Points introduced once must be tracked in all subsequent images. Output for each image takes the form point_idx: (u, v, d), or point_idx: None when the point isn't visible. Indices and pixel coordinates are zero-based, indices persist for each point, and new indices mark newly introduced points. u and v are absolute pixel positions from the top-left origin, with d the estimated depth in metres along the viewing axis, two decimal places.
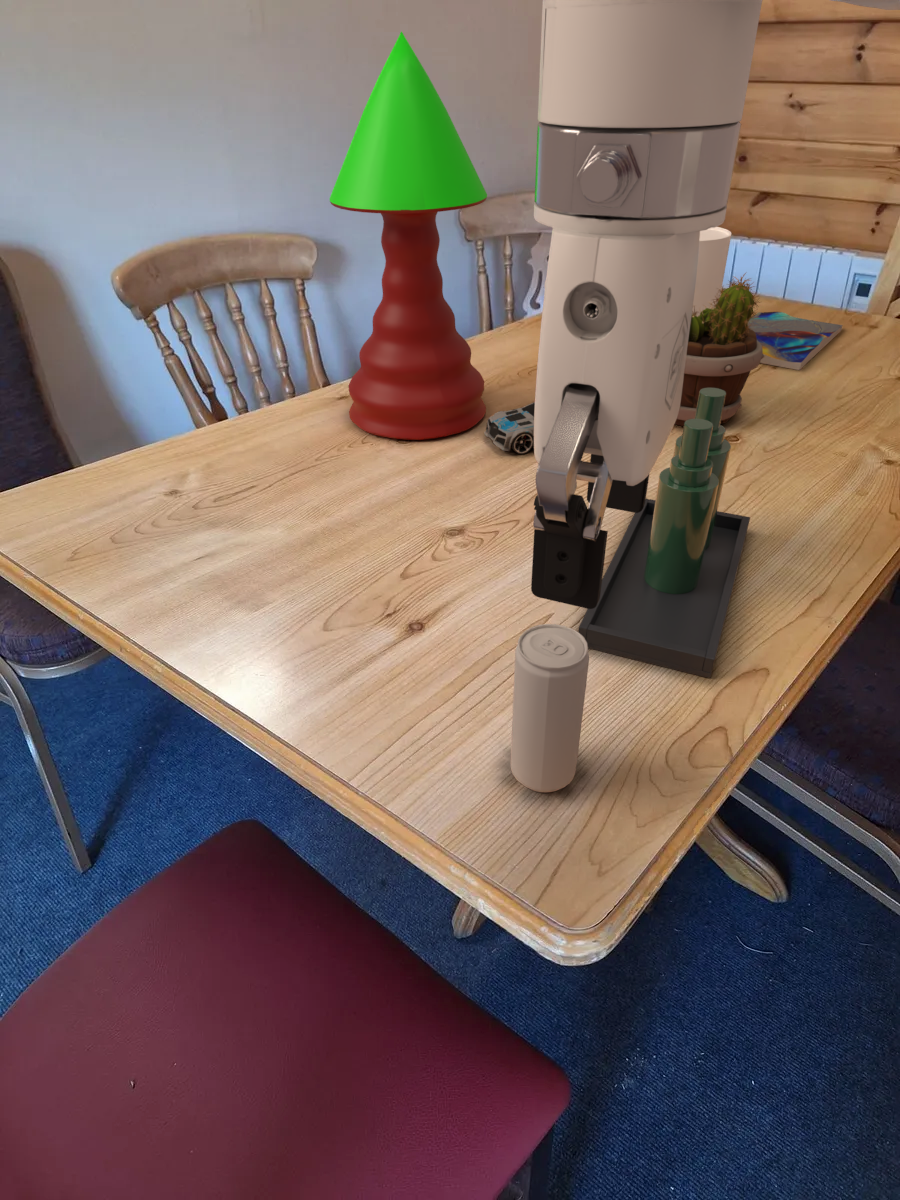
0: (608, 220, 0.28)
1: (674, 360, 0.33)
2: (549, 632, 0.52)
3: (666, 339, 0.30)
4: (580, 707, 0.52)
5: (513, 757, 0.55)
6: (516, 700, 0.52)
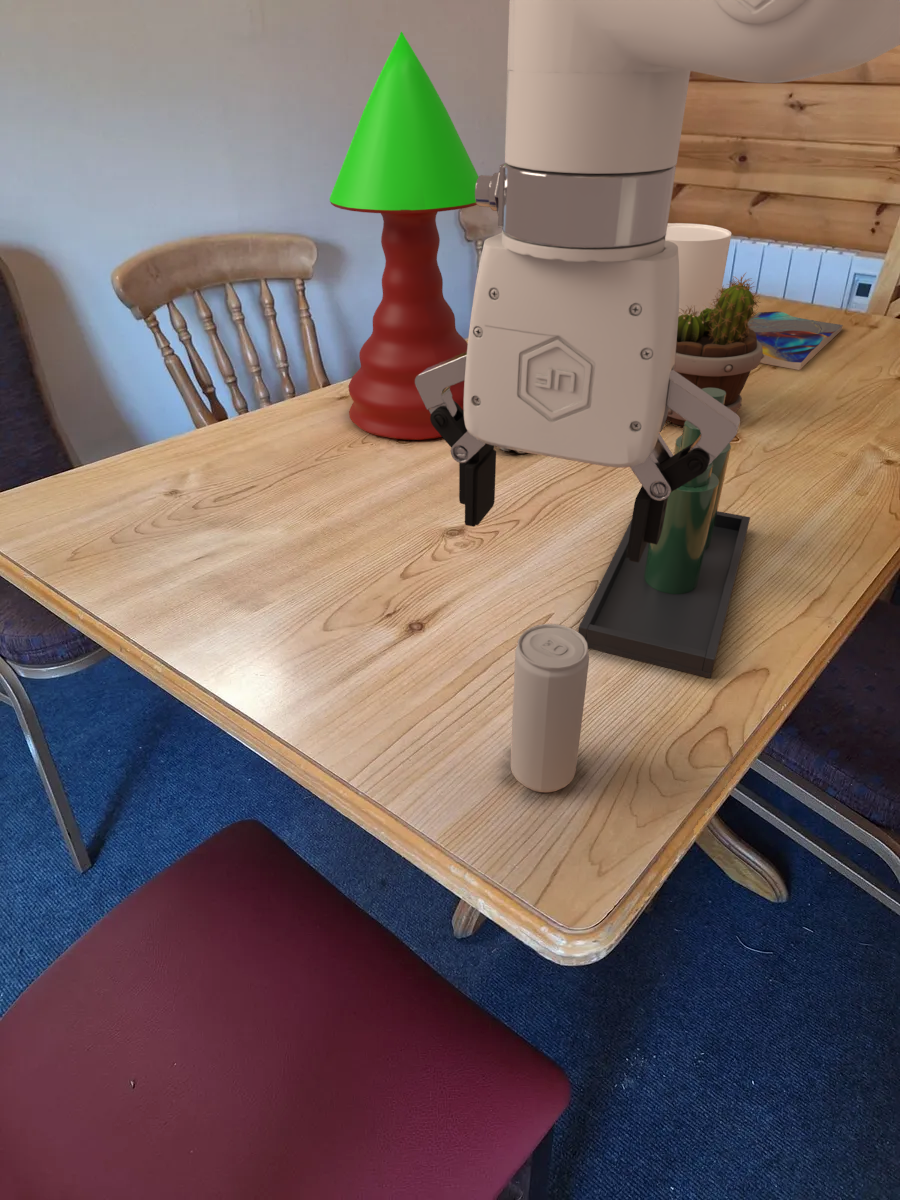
0: None
1: (547, 373, 0.37)
2: (549, 632, 0.52)
3: (497, 332, 0.37)
4: (580, 707, 0.52)
5: (513, 757, 0.55)
6: (516, 700, 0.52)
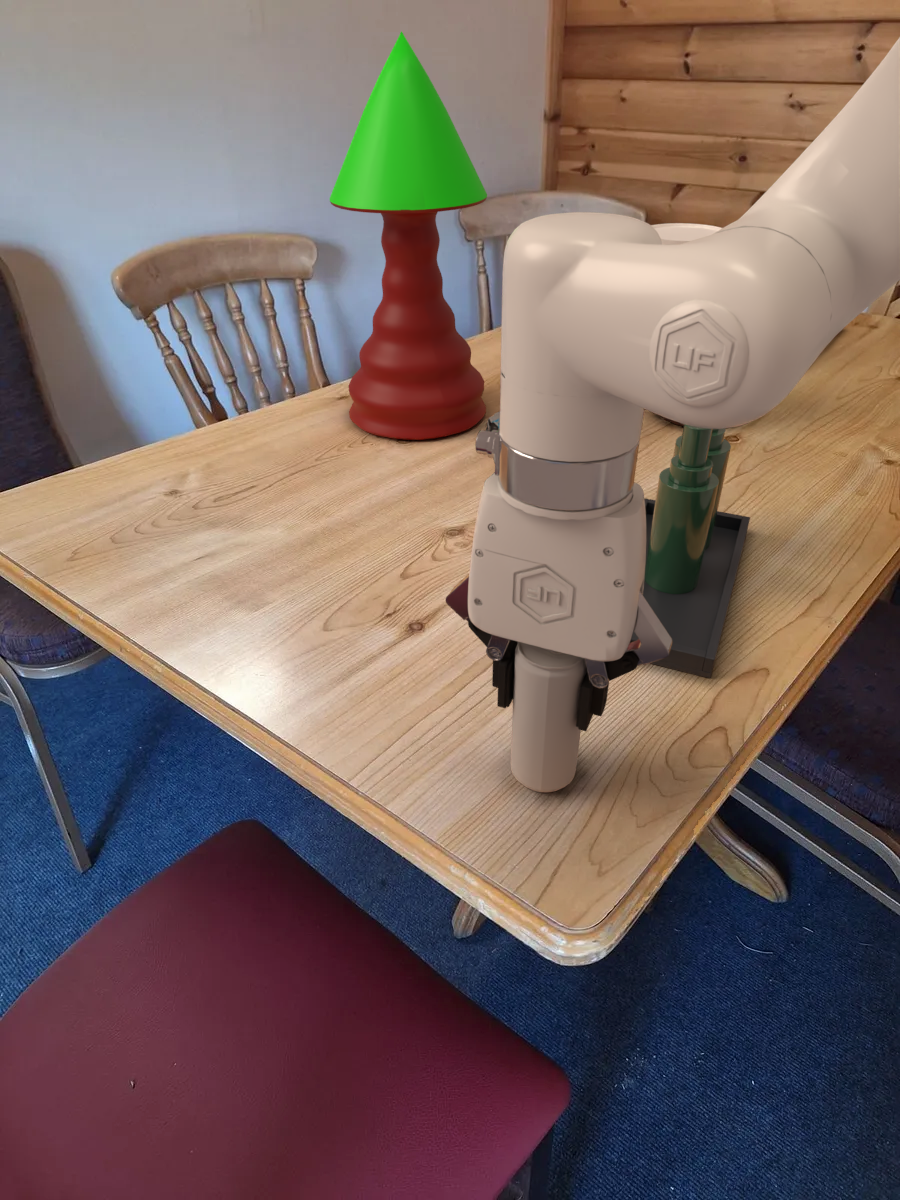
0: None
1: (537, 589, 0.45)
2: None
3: (495, 555, 0.45)
4: None
5: (513, 757, 0.55)
6: (516, 700, 0.52)
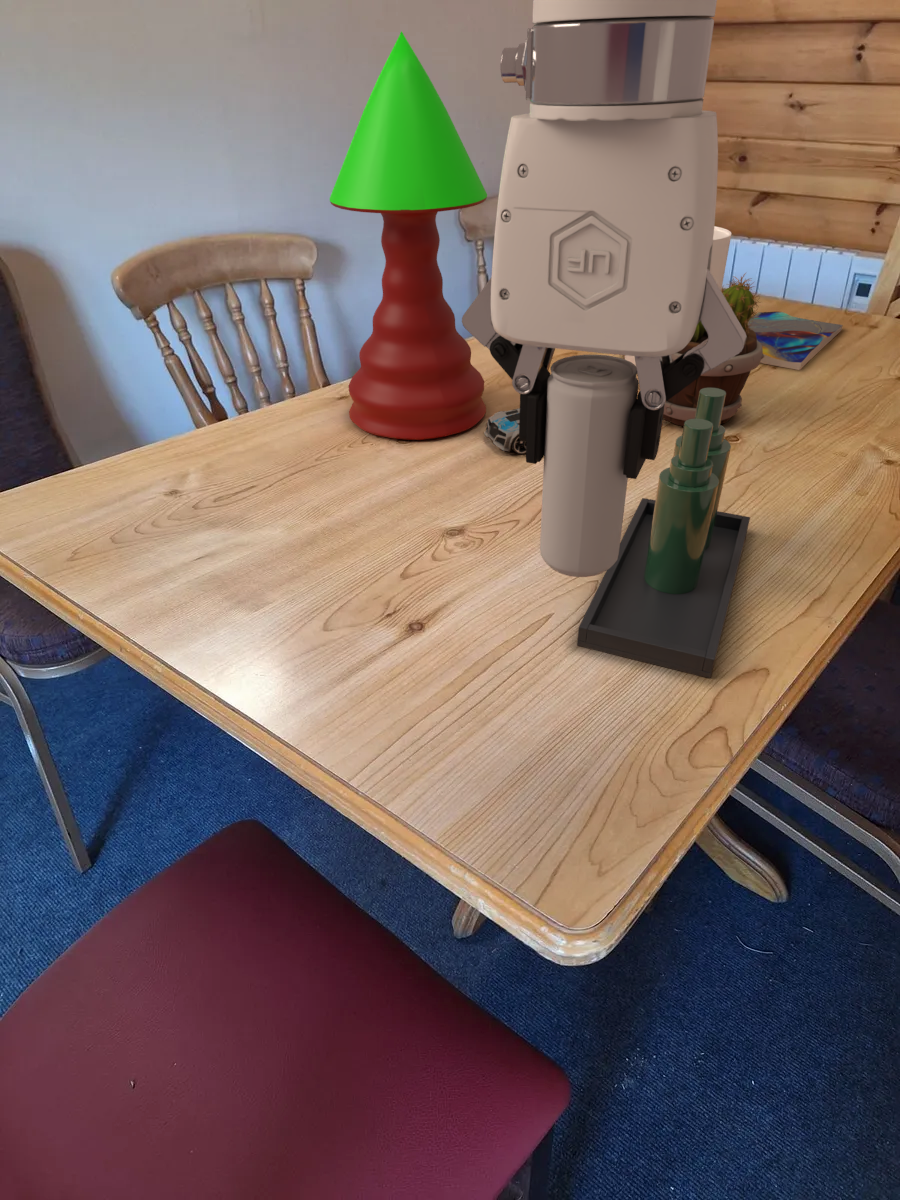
0: None
1: (580, 255, 0.36)
2: (588, 361, 0.42)
3: (526, 213, 0.36)
4: None
5: (544, 534, 0.46)
6: (549, 447, 0.43)
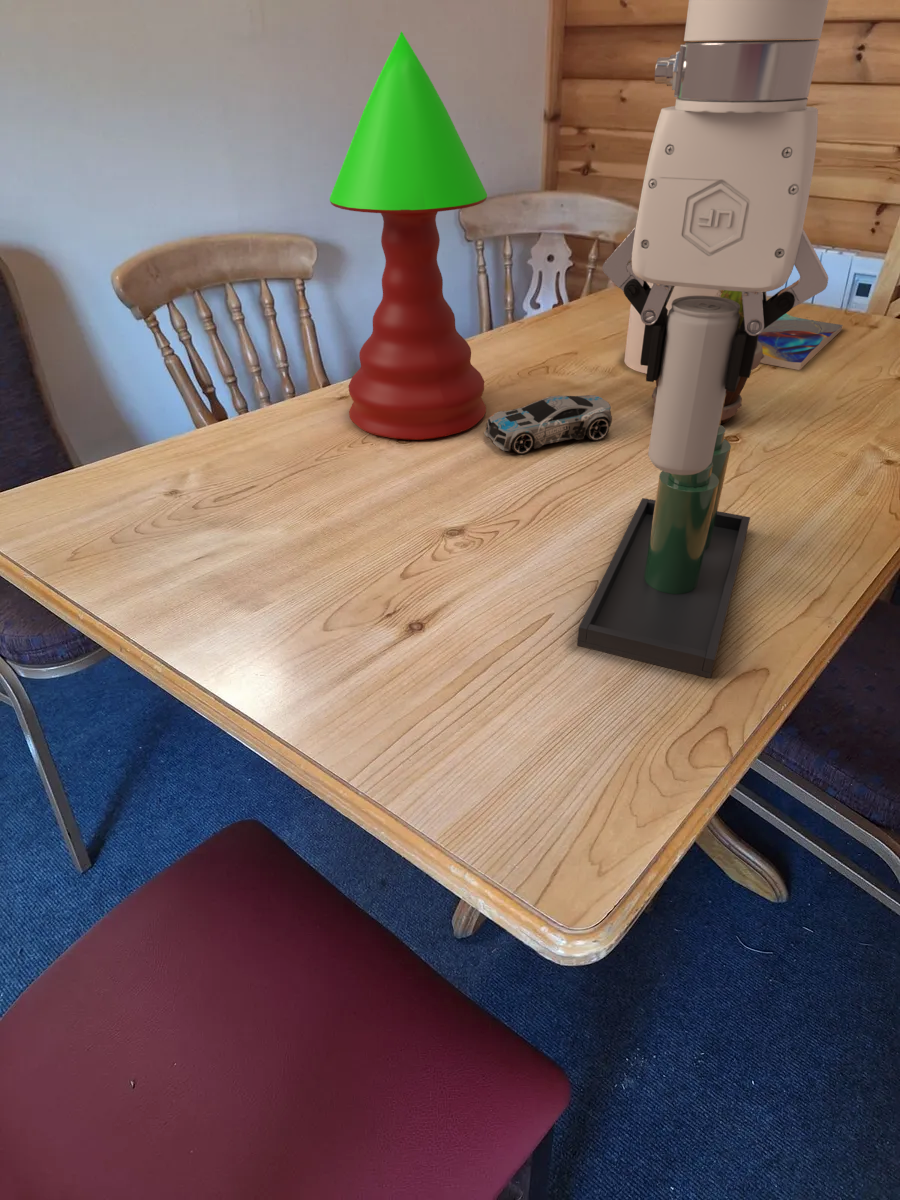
0: None
1: (709, 213, 0.48)
2: (699, 300, 0.55)
3: (669, 181, 0.48)
4: None
5: (655, 440, 0.58)
6: (666, 367, 0.55)
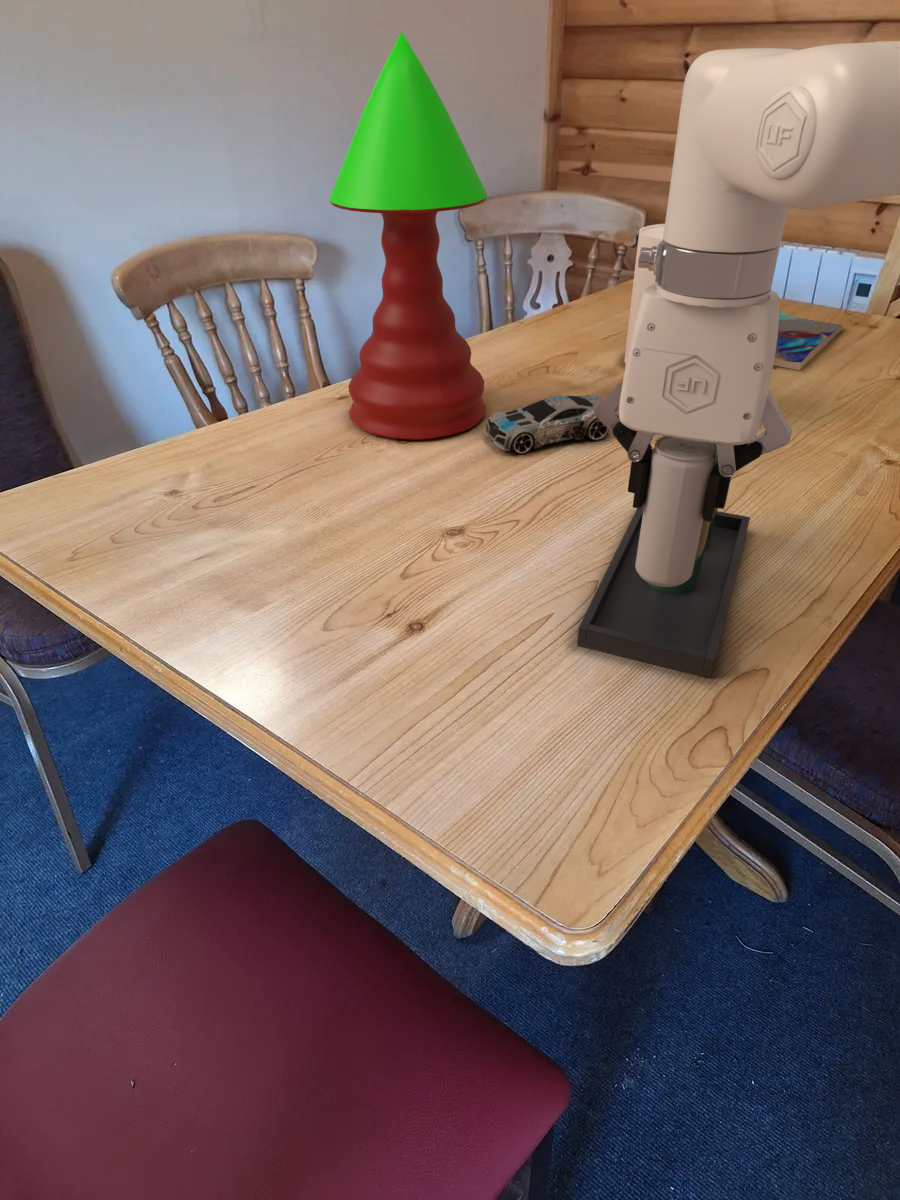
0: None
1: (685, 380, 0.55)
2: (679, 439, 0.61)
3: (651, 352, 0.55)
4: None
5: (641, 556, 0.65)
6: (650, 498, 0.62)
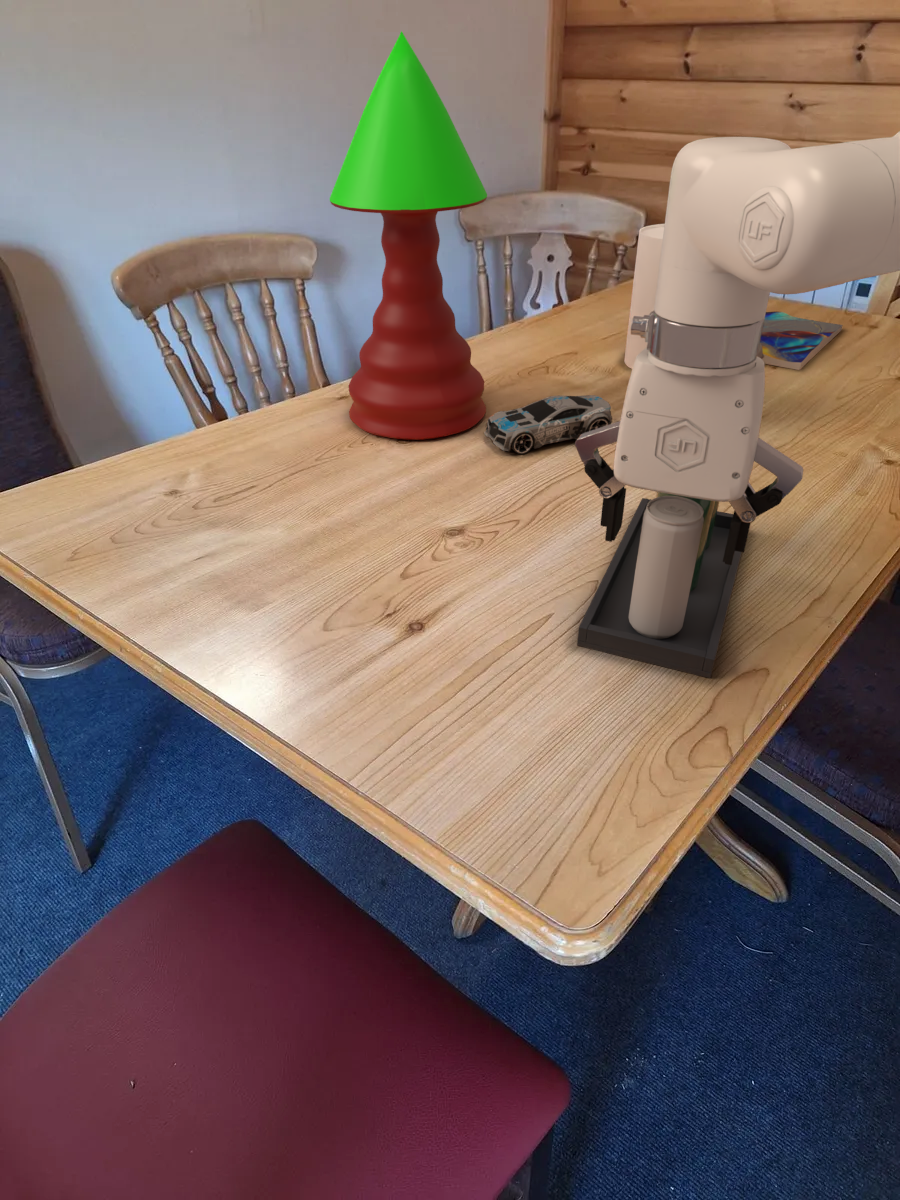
0: None
1: (676, 441, 0.57)
2: (670, 501, 0.65)
3: (643, 415, 0.57)
4: (694, 561, 0.65)
5: (634, 610, 0.68)
6: (642, 557, 0.65)
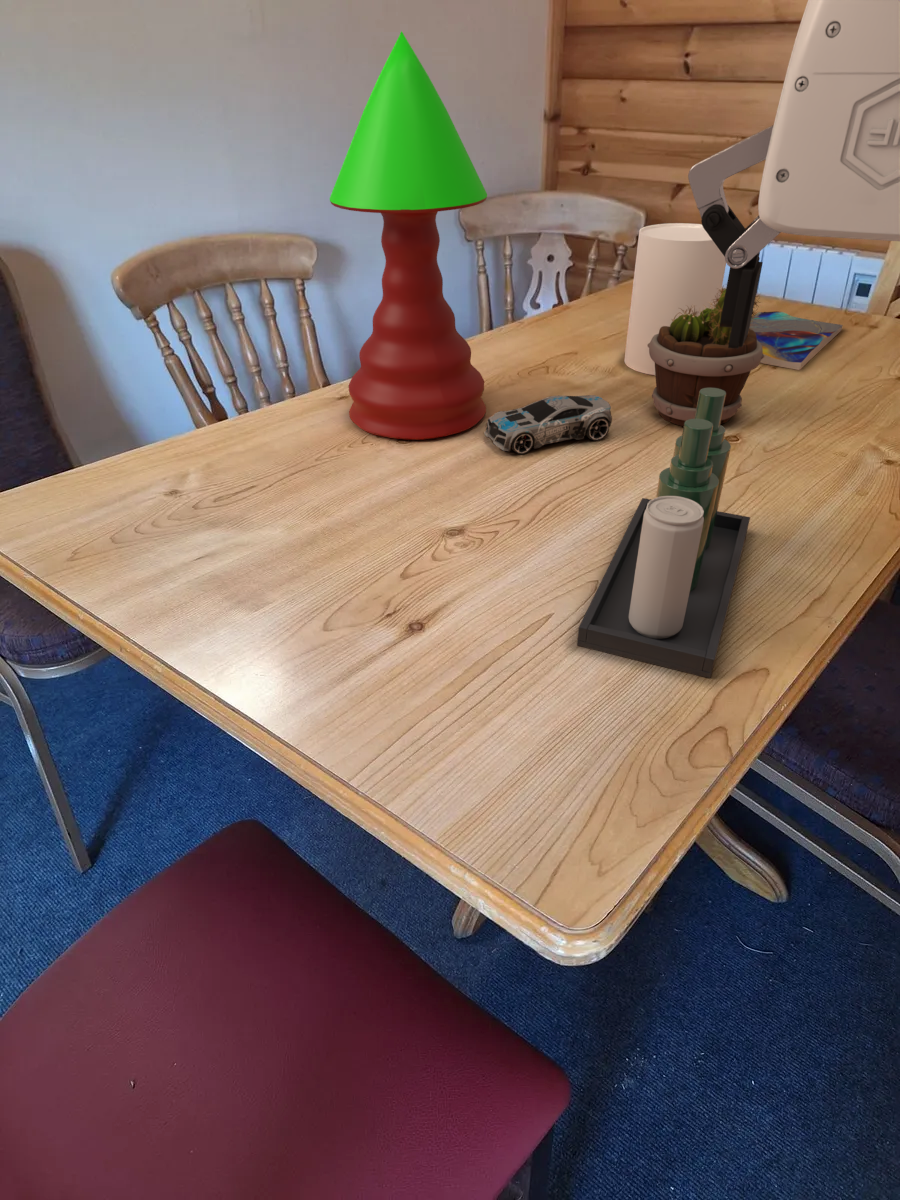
0: None
1: (886, 126, 0.33)
2: (670, 501, 0.65)
3: (828, 79, 0.33)
4: (694, 561, 0.65)
5: (634, 610, 0.68)
6: (642, 557, 0.65)
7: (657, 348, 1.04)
